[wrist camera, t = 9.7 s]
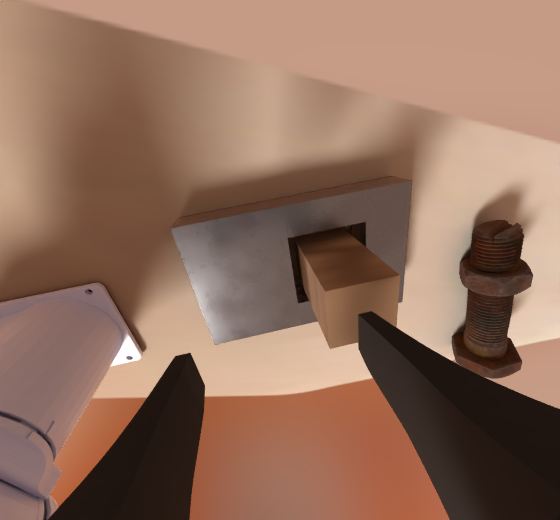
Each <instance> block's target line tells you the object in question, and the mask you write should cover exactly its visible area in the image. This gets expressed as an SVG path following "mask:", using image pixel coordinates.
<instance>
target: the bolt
mask: <svg viewBox="0 0 560 520" xmlns="http://www.w3.org/2000/svg"><path fill="white" fill-rule="evenodd" d="M522 231H523V229H522V228H521V225H520V224H518V223H516V224H515V225H513V226H512V225H511V224H508V222H507V221H505V220H496V221H491V222H487V223H484V224H481V225H480V226H478V227H477V228H475V229H474V230H473V233H472V244H471V257H468V258H465V259H464V260H463V261H461V262H460V272H459V274H460V278H461V281H462V284H463V285H464V286H465V287H466V288H468V301H467V313H466V328H465V330H464V332H463V333H460V334H457V335H454V336H452V348H453V353H454V356H455V360H456V362H457V363H458V364H459V365H461V366H462V367H464V368H466V369H468V370H470V371H472V372H474V373H476V374H478V375H480V376H483V377H488V378H502V377H506V376H509V375H511V374H513V373H515V372H517V371H519V370H520V369H521V365H522V360H521V358H520V356H519V354H518V352H517V350H516V348H515V346H514V344H513V343H512V341H511V339H510V338H508V337H507V333H508V327H509V324H510V318H511V312H512V305H513V304H512V303H513V297H514V295H516V294H518V293H520V292H522V291H524V290H526V289H527V288H529V287H531V283H532V278H533V274H532V272H531V269H530V268H529V266H528V265H527V263H526V262H525V261H523V260H521V259H520V256H521V252H522V251H521V250H522V245H523V243H522V242H523V238H524V235H523V233H522Z"/></svg>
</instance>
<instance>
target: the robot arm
mask: <svg viewBox="0 0 560 520" xmlns="http://www.w3.org/2000/svg"><path fill="white" fill-rule="evenodd" d="M88 289H90V290H91V291H92V292H89V291H88ZM358 343H359V351H360V353H361V355H362V357H363V359H364V362H365V364H366V366H367V368H368V370H369V372H370V373H371V375H372V377H373V378H374V380H375V382H376V383H377V385H378V386H379V388H380V389H381V391H382V393H383V395H384V396H385V398H386V399H387V401H388V403H389V404H390V406H391V407H392V408H393V411H394V412H395V414H396V415H397V417H398V419H399V420H400V422H401V423H402V425H403V427H404V429H405V430H406V432H407V434H408V436H409V438H410V440H411V441H412V443H413V445H414V447H415V449H416V451H417V453H418V455H419V457H420V459H421V461H422V463H423V465H424V466H425V469H426V471H427V473H428V475H429V477H430V479H431V481H432V483H433V485H434V487H435V489H436V491H437V493H438V495H439V497H440V499H441V502H442V504H443V506H444V508H445V510H446V512H447V514H448V516H449V519H450V520H560V409H558V408H555V407H553V406H550V405H547V404H545V403H542V402H540V401H537V400H535V399H532V398H530V397H527V396H525V395H523V394H520V393H518V392H516V391H513V390H511V389H509V388H507V387H504V386H502V385H500V384H497V383H495V382H493V381H491V380H489V379H487V378H484V377H482V376H480V375H478V374H476V373H474V372H472V371H470V370H468V369H466V368H464V367H462V366H460V365H458V364H456V363H454V362H453V361H451V360H449V359H447V358H445V357H444V356H442V355H440V354H438V353H437V352H435V351H433V350H431V349H430V348H428V347H426V346H425V345H423V344H421V343H420V342H418V341H416V340H415V339H413V338H412V337H410V336H409V335H407V334H405V333H404V332H402V331H401V330H399V329H398V328H396V327H395V326H393V325H392V324H390V323H389V322H387V321H386V320H384V319H383V318H381V317H380V316H378V315H377V314H375V313H374V312H372V311H369V312H365V313H361V314H358ZM142 355H143V352H142V351H141V349H140V347H139V345H138V344H137V342H136V340H135V338H134V337H133V335H132V333H131V332H130V330H129V328H128V326H127V325H126V323H125V321H124V319H123V318H122V316H121V314H120V313H119V311H118V309H117V307H116V306H115V304H114V302H113V300H112V299H111V297H110V295H109V294H108V292H107V290H106V288H105V287H104V286H103V285H102V284H101V283H91V284H87V285H82V286H77V287H72V288H67V289H63V290H58V291H53V292H48V293H43V294H39V295H34V296H29V297H24V298H19V299H14V300H10V301H5V302H0V520H189V518H190V505H191V493H192V485H193V477H194V471H195V465H196V459H197V452H198V446H199V440H200V433H201V427H202V420H203V414H204V397H205V385H204V383H203V380H202V378H201V376H200V374H199V371H198V369H197V367H196V364H195V362H194V360H193V358H192V355H191V353H187V354H183V355H179V356H175V358H174V359H173V360H172V362H171V363H170V365H169V366H168V368H167V369H166V371H165V372H164V374H163V375H162V377H161V378H160V380H159V381H158V383H157V384H156V386H155V387H154V389H153V390H152V392H151V393H150V395H149V396H148V397H147V399H146V400H145V402H144V403H143V405H142V406H141V408H140V409H139V410H138V412H137V413H136V415H135V416H134V417H133V419H132V420H131V422H130V423H129V424H128V425H127V427H126V428H125V429H124V431H123V432H122V433H121V435H120V436H119V437H118V439H117V440H116V442H115V443H114V444H113V445H112V446H111V448H110V449H109V451H107V453H106V454H105V455H104V456H103V458H102V459H101V460H100V461H99V463H98V464H97V465H96V466H95V467H94V468H93V470H92V471H91V472H90V473H89V474H88V475H87V477H86V478H85V479H84V480H83V481H82V482H81V483H80V485H79V486H78V487H77V488H76V489H75V490H74V491H73V492H72V494H71V495H70V496H69V497H68V498H67V499H66V500H65V501H64V502H63V503H62V504H61V505H60V506H59V508H58V506H57V503H56V501H55V499H54V498H53V497H51V496H50V494H51V492H52V490H53V488H54V486H55V485H56V483H57V481H58V479H59V477H60V475H61V474H62V470H60V469H59V468H57V467H56V466H55V464H54V461H55V460H56V458H57V456H58V455H59V453H60V451H61V449H62V448H63V446H64V444H65V443H66V441H67V439H68V437H69V436H70V434H71V432H72V431H73V429H74V427H75V426H76V424H77V422H78V420H79V419H80V417H81V415H82V414H83V412H84V410H85V409H86V407H87V405H88V404H89V402H90V400H91V398H92V397H93V395H94V393H95V392H96V390H97V388H98V387H99V385H100V383H101V381H102V380H103V378H104V376H105V375H106V373H107V371H108V370H109V368H110V366H114V365H118V364H123V363H127V362H131V361H136V360H139V359H141V357H142Z"/></svg>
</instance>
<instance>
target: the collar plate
mask: <svg viewBox="0 0 560 520" xmlns="http://www.w3.org/2000/svg"><path fill="white" fill-rule="evenodd" d="M411 186H412V181H411V180H406V179H402V178H397V177H392V176H390V177H385V178H380V179H375V180H369V181H364V182H359V183H354V184H349V185H344V186H339V187H334V188H329V189H324V190H319V191H313V192H308V193H303V194H298V195H293V196H288V197H283V198H278V199H273V200H268V201H262V202H257V203H252V204H247V205H242V206H237V207H232V208H227V209H222V210H217V211H212V212H206V213H201V214H196V215H191V216H186V217H181V218H179V219H178V220H177V221H176V222H175V223H174V225H173V226H172V227H171V228H170V230H171V233H172V235H173V238H174V240H175V243H176V246H177V248H178V251H179V253H180V256H181V259H182V261H183V264H184V266H185V269H186V272H187V274H188V277H189V279H190V282H191V285H192V287H193V290H194V292H195V295H196V298H197V300H198V303H199V305H200V308H201V311H202V313H203V316H204V318H205V321H206V324H207V326H208V329H209V331H210V334H211V337H212V339H213V342H214V344H215V345H216V344H220V343H225V342H229V341H234V340H238V339H242V338H247V337H251V336H255V335H260V334H264V333H269V332H273V331H277V330H282V329H286V328H290V327H295V326H299V325H304V324H308V323H312V322H317V321H318V320H317V318H316V316H315V313H314V311H313V309H312V306H311V304H310V302H309V300H308V297H307V295H306V293H305V290H304V288H303V286H302V285H299V286H295V282H294V276H293V270H292V263H291V257H290V251H289V244H288V238H290V237H294V236H299V235H304V234H309V233H314V232H319V231H324V230H328V229H333V228H338V227H343V226H348V225H352V236H353V237H354V238H356V239H357V240H358V241H359V242H360V243H362V244H363V245H364V246H365V247H367V248H368V249H369V250H370V251H371V252H373V253H374V254H375V255H376V256H377V257H379V258H380V259H381V260H382V261H384V262H385V263H386V264H387V265H388V266H390V267H391V268H392V269H393V270H394V271H396V272H397V273H398V274H399V275H400V285H399V298H398V303H400V302H402V299H403V286H404V274H405V261H406V249H407V236H408V224H409V211H410V199H411Z"/></svg>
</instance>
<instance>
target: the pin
mask: <svg viewBox="0 0 560 520" xmlns="http://www.w3.org/2000/svg"><path fill="white" fill-rule="evenodd" d="M294 242H295V249H296V256H297V263H298V270H299V277H300V281H301V284H302V286H303V288H304V290H305V293H306V295H307V297H308V300H309V302H310V304H311V306H312V309H313V311H314V313H315V316H316V318H317V320H318V322H319V325H320V327H321V329H322V332H323V334H324V336H325V338H326V341H327V343H328V345H329V348H330V349H331V348H336V347H340V346H344V345H348V344H353V343H357V342H358V314H361V313H365V312H369V311H372V312H374V313H375V314H377V315H378V316H380V317H381V318H383V319H384V320H386V321H387V322H389V323H390V324H392V325H393V326H395V327H396V324H397V311H398V298H399V285H400V275H399V274H398V273H397V272H396V271H394V270H393V269H392V268H391V267H390V266H388V265H387V264H386V263H385V262H384V261H382V260H381V259H380V258H379V257H377V256H376V255H375V254H374V253H373V252H371V251H370V250H369V249H368V248H367V247H365V246H364V245H363V244H362V243H360V242H359V241H358V240H357V239H356V238H354V237H353V236H352V235H351V234H349V233H348V232H347V231H346V230H345V229H343V228H337V229H332V230H327V231H322V232H317V233H312V234H307V235H302V236H297V237H294Z"/></svg>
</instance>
